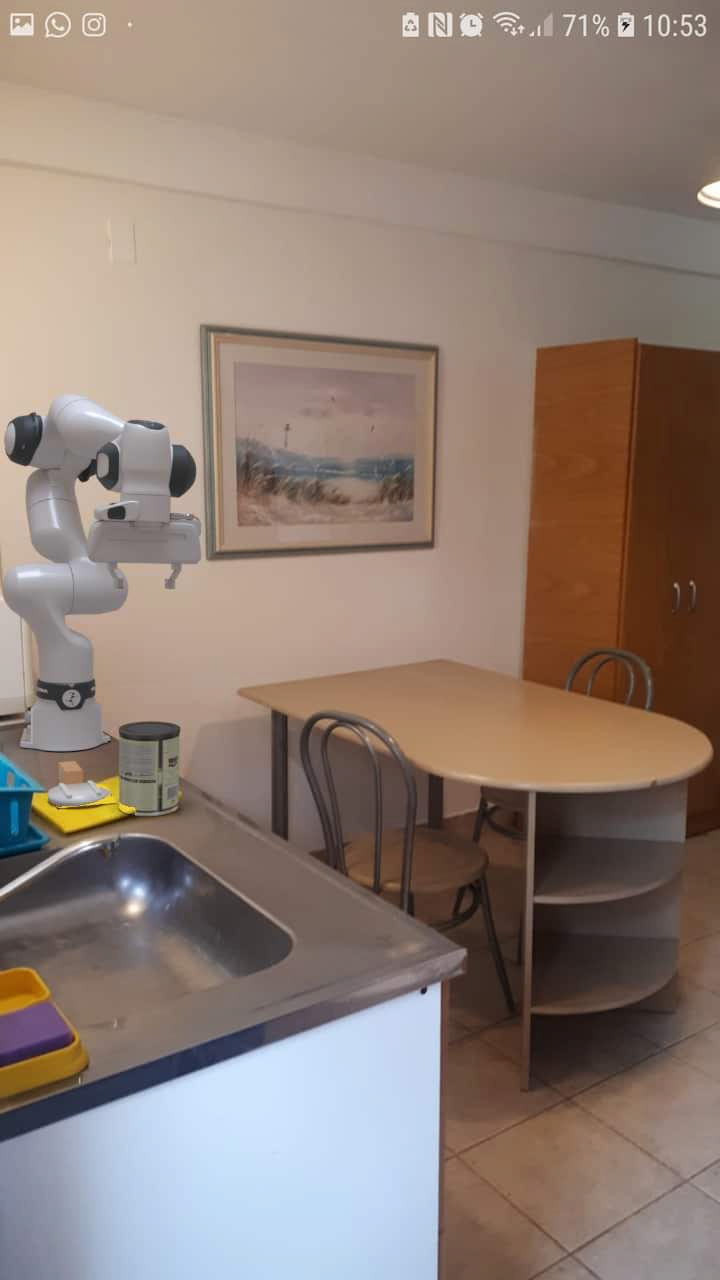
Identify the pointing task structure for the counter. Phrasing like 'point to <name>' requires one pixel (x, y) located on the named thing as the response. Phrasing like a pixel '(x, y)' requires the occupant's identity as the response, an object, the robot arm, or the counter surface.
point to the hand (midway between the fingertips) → (144, 588)
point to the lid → (74, 787)
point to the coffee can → (149, 767)
